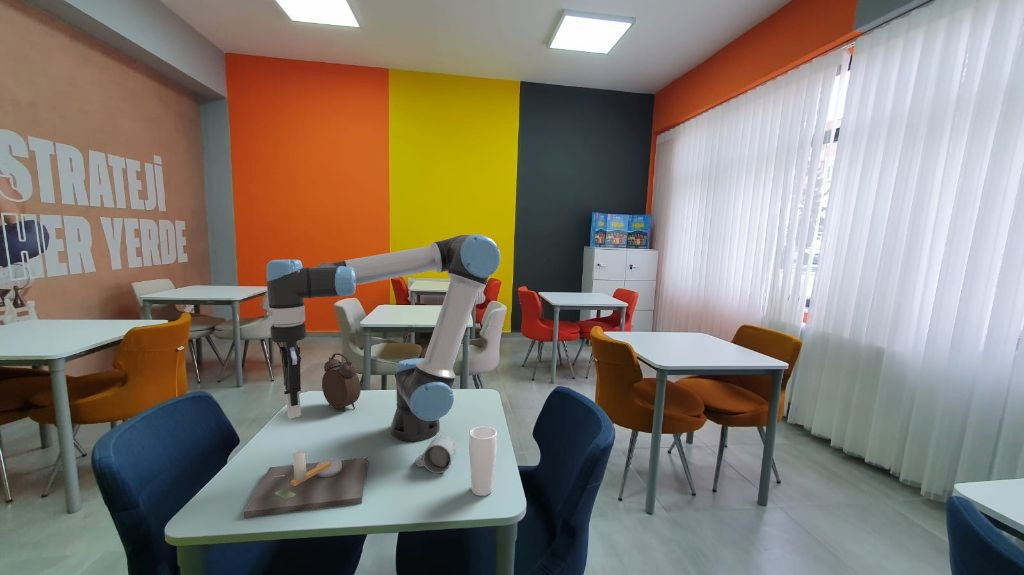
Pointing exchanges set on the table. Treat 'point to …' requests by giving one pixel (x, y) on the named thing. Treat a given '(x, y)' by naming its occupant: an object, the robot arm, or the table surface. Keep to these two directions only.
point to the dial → (322, 469)
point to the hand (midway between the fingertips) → (294, 416)
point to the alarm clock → (340, 382)
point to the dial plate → (308, 489)
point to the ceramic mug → (438, 454)
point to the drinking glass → (482, 459)
